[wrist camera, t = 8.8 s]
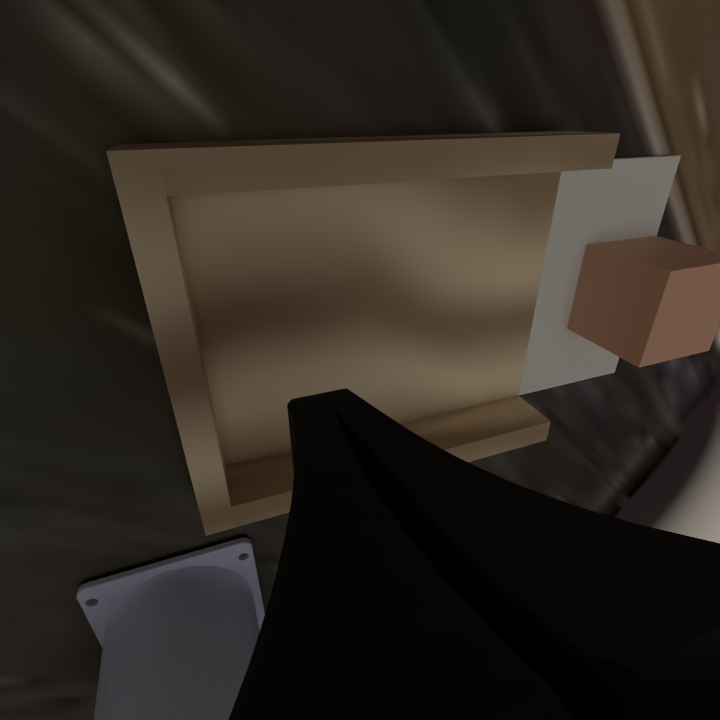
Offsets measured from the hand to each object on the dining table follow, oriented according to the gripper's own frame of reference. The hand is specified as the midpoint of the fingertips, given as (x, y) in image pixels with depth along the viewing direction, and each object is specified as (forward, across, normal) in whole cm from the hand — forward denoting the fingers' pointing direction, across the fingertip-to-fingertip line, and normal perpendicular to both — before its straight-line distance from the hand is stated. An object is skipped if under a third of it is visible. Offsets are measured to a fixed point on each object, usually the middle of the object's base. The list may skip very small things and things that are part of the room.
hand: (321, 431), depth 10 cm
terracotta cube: (+9, -18, +2) cm, 20 cm away
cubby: (+9, -5, +2) cm, 11 cm away
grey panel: (+9, -17, +2) cm, 20 cm away
